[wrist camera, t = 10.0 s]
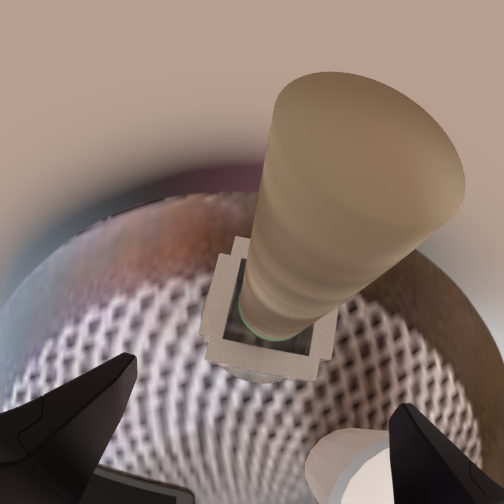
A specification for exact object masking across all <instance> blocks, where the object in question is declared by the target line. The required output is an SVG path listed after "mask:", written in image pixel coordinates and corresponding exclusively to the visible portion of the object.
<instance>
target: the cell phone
mask: <svg viewBox="0 0 504 504" xmlns="http://www.w3.org/2000/svg"><path fill="white" fill-rule="evenodd" d="M78 504H195V499H194V495H193V494H192V493H191V492H190V491H188V490H184V489H180V488H176V487H172V486H168V485H163V484H159V483H155V482H151V481H147V480H143V479H139V478H135V477H132V476H128V475H125V474H122V473H118V472H115V471H112V470H109V469H106V468H103V467H100V466H97V467H96V469H95V471H94V473H93V475H92V477H91V479H90V481H89V483H88V485H87V487H86V489H85V491H84V493H83V495H82V497H81V499H80V501H79V503H78Z"/></svg>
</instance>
